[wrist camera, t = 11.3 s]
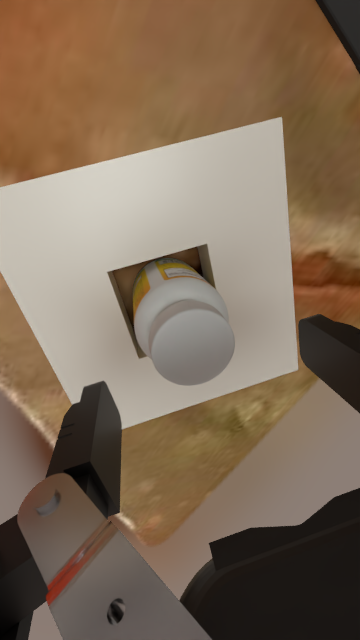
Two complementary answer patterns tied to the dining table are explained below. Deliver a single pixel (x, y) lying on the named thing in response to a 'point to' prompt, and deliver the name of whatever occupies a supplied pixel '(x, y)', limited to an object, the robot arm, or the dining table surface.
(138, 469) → the dining table surface
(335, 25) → the phone
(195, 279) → the supplement bottle
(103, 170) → the socket block
